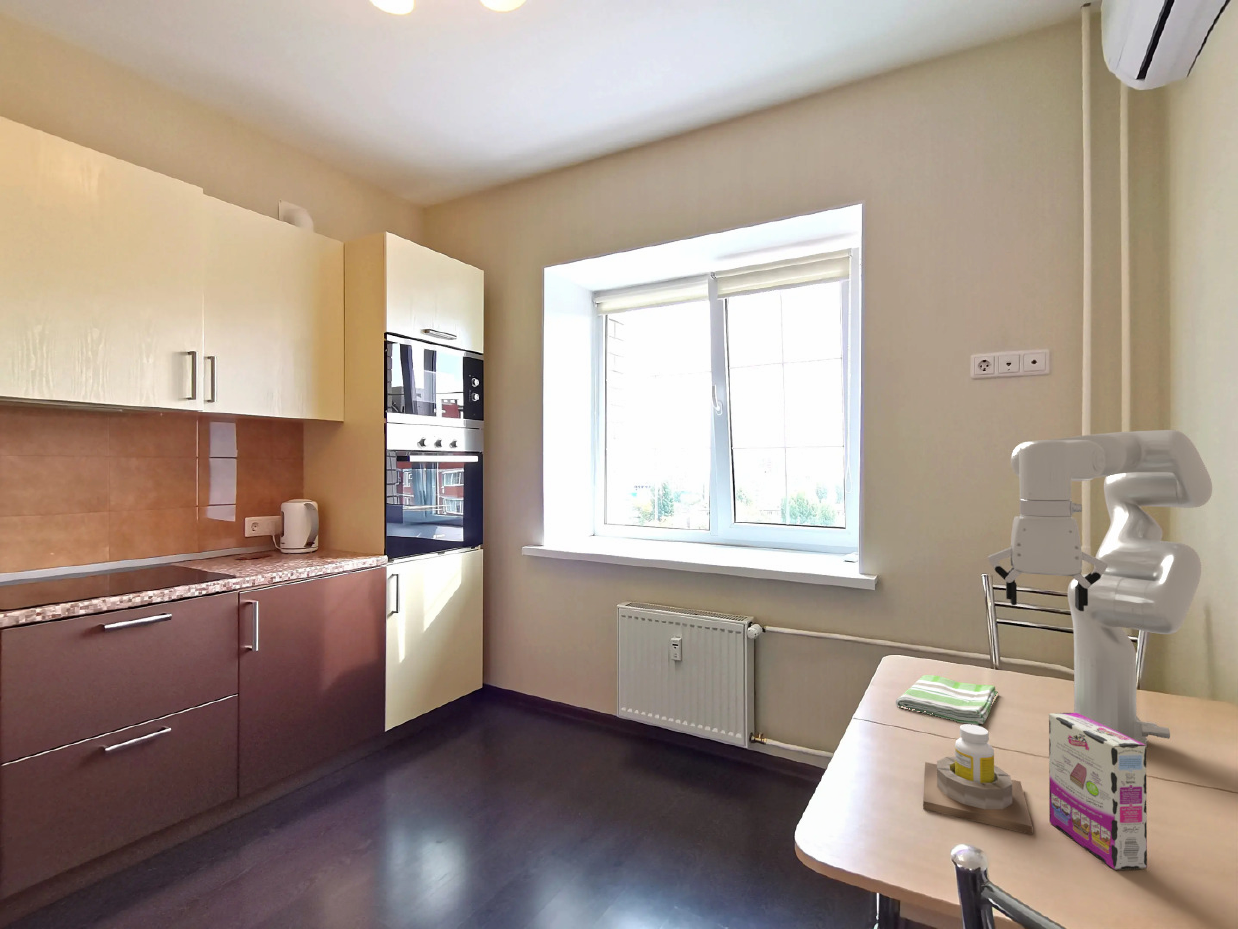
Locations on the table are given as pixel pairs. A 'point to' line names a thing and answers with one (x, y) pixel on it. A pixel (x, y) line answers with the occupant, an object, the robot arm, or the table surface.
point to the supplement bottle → (974, 755)
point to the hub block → (976, 797)
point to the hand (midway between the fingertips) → (1045, 606)
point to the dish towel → (949, 699)
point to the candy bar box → (1098, 789)
